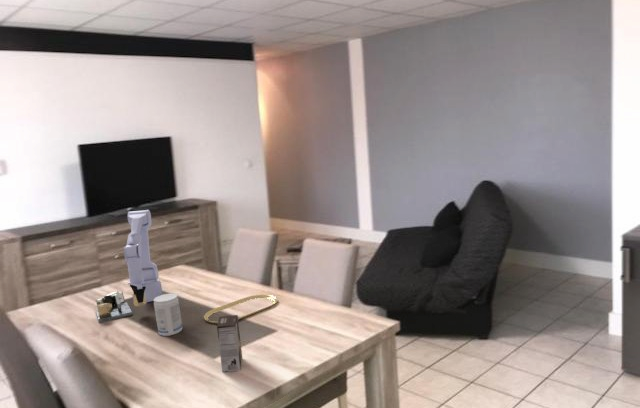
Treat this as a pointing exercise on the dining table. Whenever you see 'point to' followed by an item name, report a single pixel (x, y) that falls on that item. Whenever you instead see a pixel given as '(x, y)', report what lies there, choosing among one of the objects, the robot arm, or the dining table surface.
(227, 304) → the loop handle
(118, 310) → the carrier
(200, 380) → the dining table surface
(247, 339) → the dining table surface
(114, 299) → the pneumatic valve
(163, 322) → the supplement tub
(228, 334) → the coffee box
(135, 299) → the tan hollow octagonal prism
